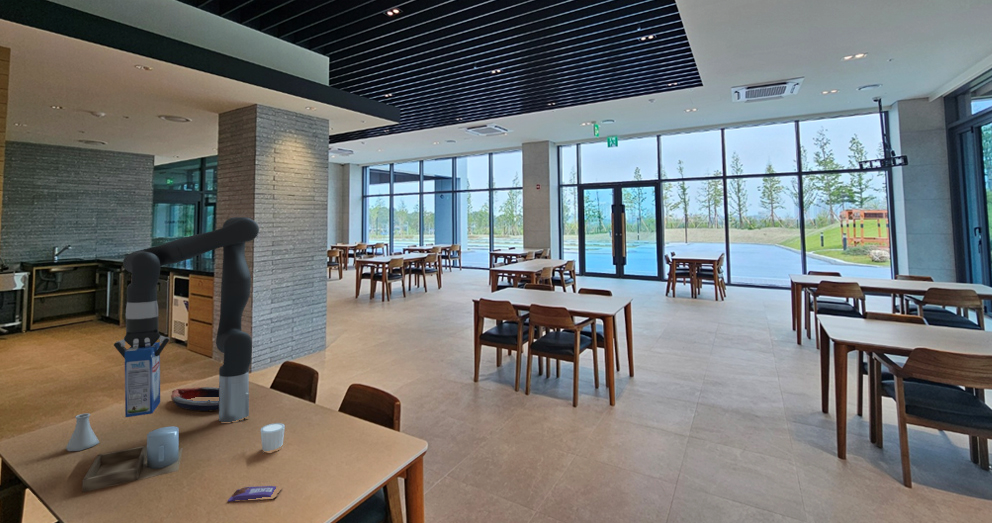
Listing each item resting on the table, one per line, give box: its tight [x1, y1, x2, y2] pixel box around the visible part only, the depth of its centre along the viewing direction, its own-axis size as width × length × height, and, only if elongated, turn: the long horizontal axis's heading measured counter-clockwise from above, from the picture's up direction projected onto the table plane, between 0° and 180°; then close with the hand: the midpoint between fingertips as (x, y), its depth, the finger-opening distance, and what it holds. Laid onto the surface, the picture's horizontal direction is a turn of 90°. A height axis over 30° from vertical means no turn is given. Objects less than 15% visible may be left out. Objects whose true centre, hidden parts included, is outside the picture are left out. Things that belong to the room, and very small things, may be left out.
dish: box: [170, 386, 219, 412], centre depth 161 cm, size 16×31×5 cm, turn 71°
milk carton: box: [124, 341, 161, 418], centre depth 124 cm, size 10×6×20 cm, turn 29°
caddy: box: [82, 445, 184, 493], centre depth 112 cm, size 19×15×4 cm
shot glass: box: [260, 422, 286, 451], centre depth 127 cm, size 7×7×7 cm
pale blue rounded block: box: [146, 426, 180, 469], centre depth 115 cm, size 7×8×9 cm
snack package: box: [227, 485, 277, 502], centre depth 104 cm, size 12×2×5 cm
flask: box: [65, 412, 100, 452], centre depth 126 cm, size 7×7×10 cm
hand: (143, 370), depth 124 cm, fingers closed
